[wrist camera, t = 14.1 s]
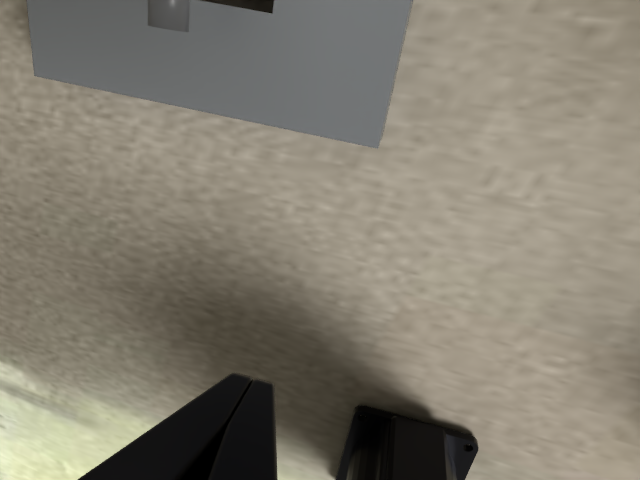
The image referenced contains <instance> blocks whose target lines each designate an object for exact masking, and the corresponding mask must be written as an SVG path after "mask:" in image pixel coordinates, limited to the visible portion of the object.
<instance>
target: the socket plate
mask: <svg viewBox="0 0 640 480" xmlns="http://www.w3.org/2000/svg"><path fill="white" fill-rule="evenodd" d="M412 3H413V0H274V5H273V14H272V13H267V12H261V11H256V10H250V9H245V8H239V7H234V6H228V5H223V4H217V3H212V2H206V1H201V0H190V14H189V32H182V31H174V30H168V29H162V28H157V27H152V26H148V0H27V9H28V18H29V28H30V38H31V48H32V58H33V67H34V76H37V77H42V78H46V79H51V80H56V81H61V82H65V83H70V84H75V85H80V86H84V87H89V88H94V89H98V90H103V91H108V92H113V93H117V94H122V95H127V96H132V97H136V98H141V99H146V100H150V101H155V102H160V103H165V104H169V105H174V106H179V107H184V108H188V109H193V110H198V111H202V112H207V113H212V114H217V115H221V116H226V117H231V118H236V119H240V120H245V121H250V122H254V123H259V124H264V125H269V126H273V127H278V128H283V129H288V130H292V131H297V132H302V133H306V134H311V135H316V136H321V137H325V138H330V139H335V140H340V141H344V142H349V143H354V144H358V145H363V146H368V147H373V148H377V149H378V147H379V145H380V142H381V139H382V136H383V131H384V127H385V122H386V118H387V113H388V109H389V105H390V100H391V96H392V91H393V87H394V82H395V78H396V73H397V69H398V65H399V60H400V56H401V51H402V47H403V42H404V38H405V34H406V29H407V25H408V20H409V16H410V11H411V7H412Z"/></svg>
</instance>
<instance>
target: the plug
mask: <svg viewBox="0 0 640 480" xmlns="http://www.w3.org/2000/svg"><path fill="white" fill-rule="evenodd" d="M189 14H190V0H148V26H152V27H157V28H162V29H168V30H174V31H182V32H189Z"/></svg>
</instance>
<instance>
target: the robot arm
mask: <svg viewBox="0 0 640 480" xmlns="http://www.w3.org/2000/svg"><path fill="white" fill-rule="evenodd" d="M361 415H365V416H361ZM466 444H470V445H466ZM477 452H478V443H477V440H476V438H475V437H474V436H471V435H469V434H465V433H461V432H458V431H454V430H451V429H447V428H443V427H440V426H436V425H433V424H429V423H425V422H422V421H418V420H415V419H411V418H407V417H404V416H400V415H396V414H393V413H389V412H386V411H382V410H378V409H375V408H371V407H368V406H362V405H361V406H358V407H356V408H355V410H354V413H353V417H352V420H351V424H350V428H349V431H348V435H347V439H346V442H345V446H344V450H343V454H342V457H341V461H340V465H339V468H338V472H337V476H336V480H465V478H466V476H467V474H468V471H469V469H470V467H471V465H472V463H473V460H474V458H475V456H476V454H477ZM78 480H277V453H276V420H275V388H274V384H273V383H271V382H267V381H264V380H260V379H254V380H253V379H252V378H251V377H249V376H246V375H242V374H239V373H232V374H230V375H228V376H227V377H225V378H224V379H223V380H221V381H220V382H218V383H217V384H215V385H214V386H212V387H211V388H210V389H208V390H207V391H205V392H204V393H202V394H201V395H199V396H198V397H197V398H195V399H194V400H192V401H191V402H189V403H188V404H186V405H185V406H183V407H182V408H181V409H179V410H178V411H176V412H175V413H173V414H172V415H170V416H169V417H168V418H166V419H165V420H163V421H162V422H160V423H159V424H157V425H156V426H155V427H153V428H152V429H150V430H149V431H147V432H146V433H144V434H143V435H141V436H140V437H139V438H137V439H136V440H134V441H133V442H131V443H130V444H128V445H127V446H126V447H124V448H123V449H121V450H120V451H118V452H117V453H115V454H114V455H113V456H111V457H110V458H108V459H107V460H105V461H104V462H102V463H101V464H99V465H98V466H97V467H95V468H94V469H92V470H91V471H89V472H88V473H86V474H85V475H84V476H82V477H81V478H79V479H78Z"/></svg>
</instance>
